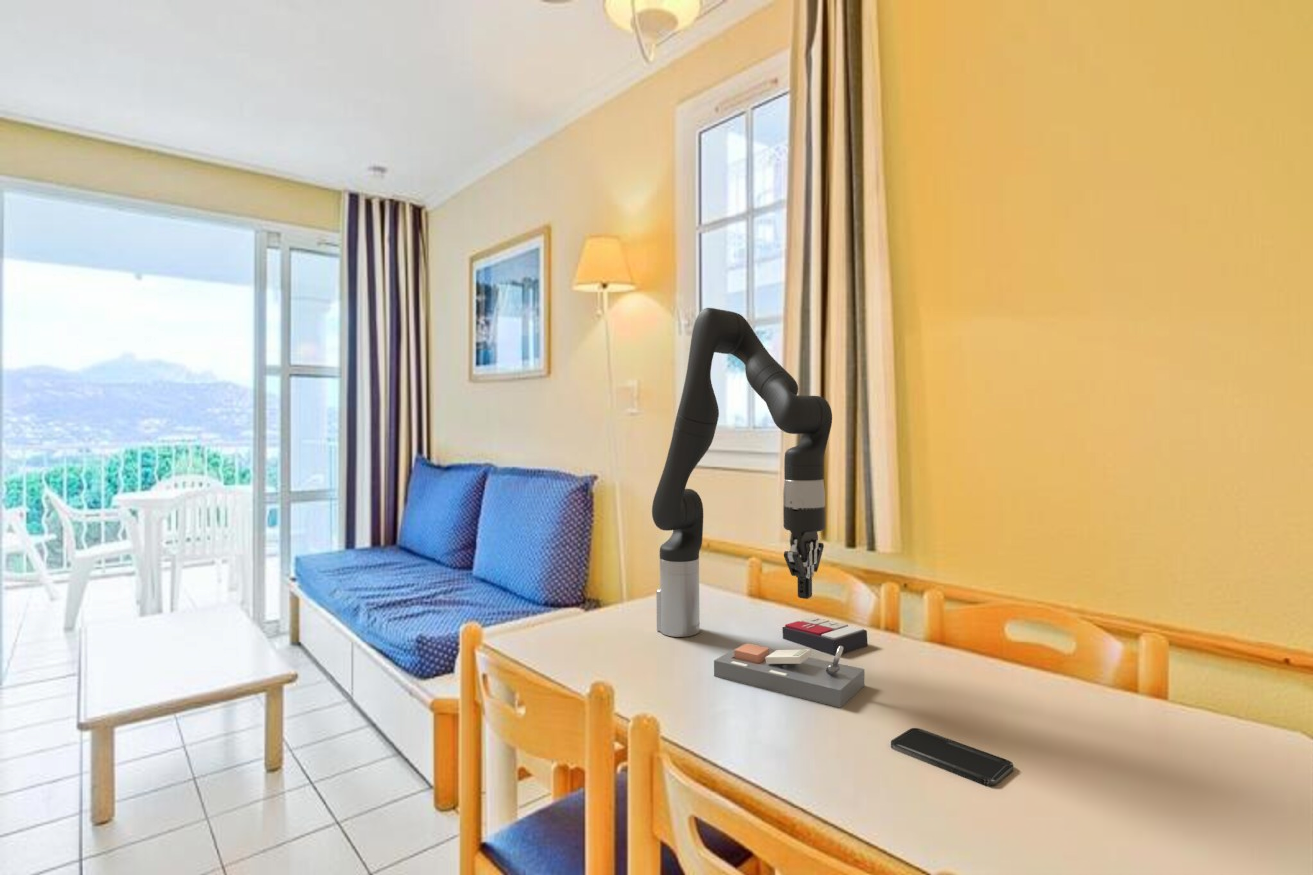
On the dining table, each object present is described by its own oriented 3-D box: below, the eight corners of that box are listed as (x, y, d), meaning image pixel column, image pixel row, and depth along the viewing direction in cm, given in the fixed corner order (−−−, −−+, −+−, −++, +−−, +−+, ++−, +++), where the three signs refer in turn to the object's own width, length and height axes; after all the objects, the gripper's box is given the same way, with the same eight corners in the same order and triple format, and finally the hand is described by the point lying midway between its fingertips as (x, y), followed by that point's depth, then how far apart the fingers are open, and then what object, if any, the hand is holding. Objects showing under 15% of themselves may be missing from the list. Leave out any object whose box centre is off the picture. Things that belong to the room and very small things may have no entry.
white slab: (766, 663, 124) (765, 656, 124) (778, 656, 128) (777, 649, 128) (800, 663, 120) (798, 656, 120) (811, 655, 124) (810, 648, 124)
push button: (734, 664, 128) (734, 650, 128) (747, 657, 132) (746, 643, 132) (757, 669, 125) (757, 655, 125) (769, 662, 129) (769, 647, 129)
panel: (714, 675, 127) (713, 657, 127) (744, 657, 137) (744, 640, 137) (840, 707, 112) (840, 686, 112) (864, 685, 122) (864, 665, 122)
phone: (992, 783, 87) (887, 742, 98) (992, 791, 87) (887, 749, 98) (1016, 762, 92) (914, 725, 103) (1016, 770, 92) (914, 733, 103)
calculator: (813, 614, 156) (867, 626, 144) (814, 633, 156) (868, 646, 144) (781, 623, 149) (835, 636, 137) (782, 642, 149) (836, 657, 137)
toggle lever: (824, 672, 119) (835, 645, 118) (830, 668, 121) (840, 642, 119) (833, 677, 118) (843, 650, 117) (838, 673, 120) (848, 646, 119)
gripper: (800, 499, 129) (800, 587, 130) (769, 506, 119) (770, 602, 119) (837, 501, 125) (837, 593, 125) (808, 508, 114) (809, 608, 115)
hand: (804, 597), depth 122 cm, fingers closed
